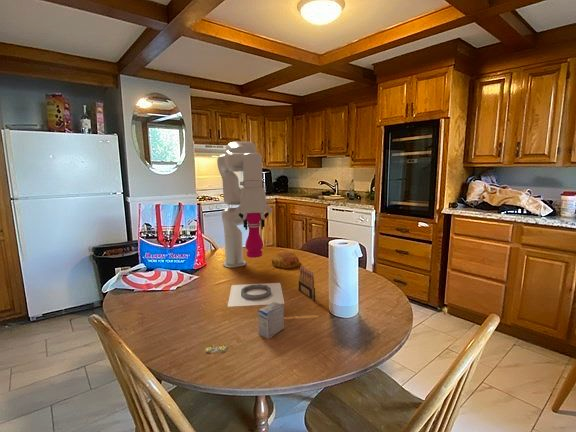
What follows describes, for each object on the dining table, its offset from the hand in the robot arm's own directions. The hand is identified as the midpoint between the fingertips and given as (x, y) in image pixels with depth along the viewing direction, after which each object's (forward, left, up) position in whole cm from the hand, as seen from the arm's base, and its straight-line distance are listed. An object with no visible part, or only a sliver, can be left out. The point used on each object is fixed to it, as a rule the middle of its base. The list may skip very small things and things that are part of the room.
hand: (254, 228), depth 128 cm
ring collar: (0, 0, -28) cm, 28 cm away
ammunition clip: (+3, +21, -29) cm, 36 cm away
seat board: (0, 0, -29) cm, 29 cm away
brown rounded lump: (-39, +17, -29) cm, 52 cm away
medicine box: (+30, +5, -29) cm, 42 cm away
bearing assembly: (+38, -12, -29) cm, 50 cm away
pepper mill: (+1, 0, -11) cm, 11 cm away
